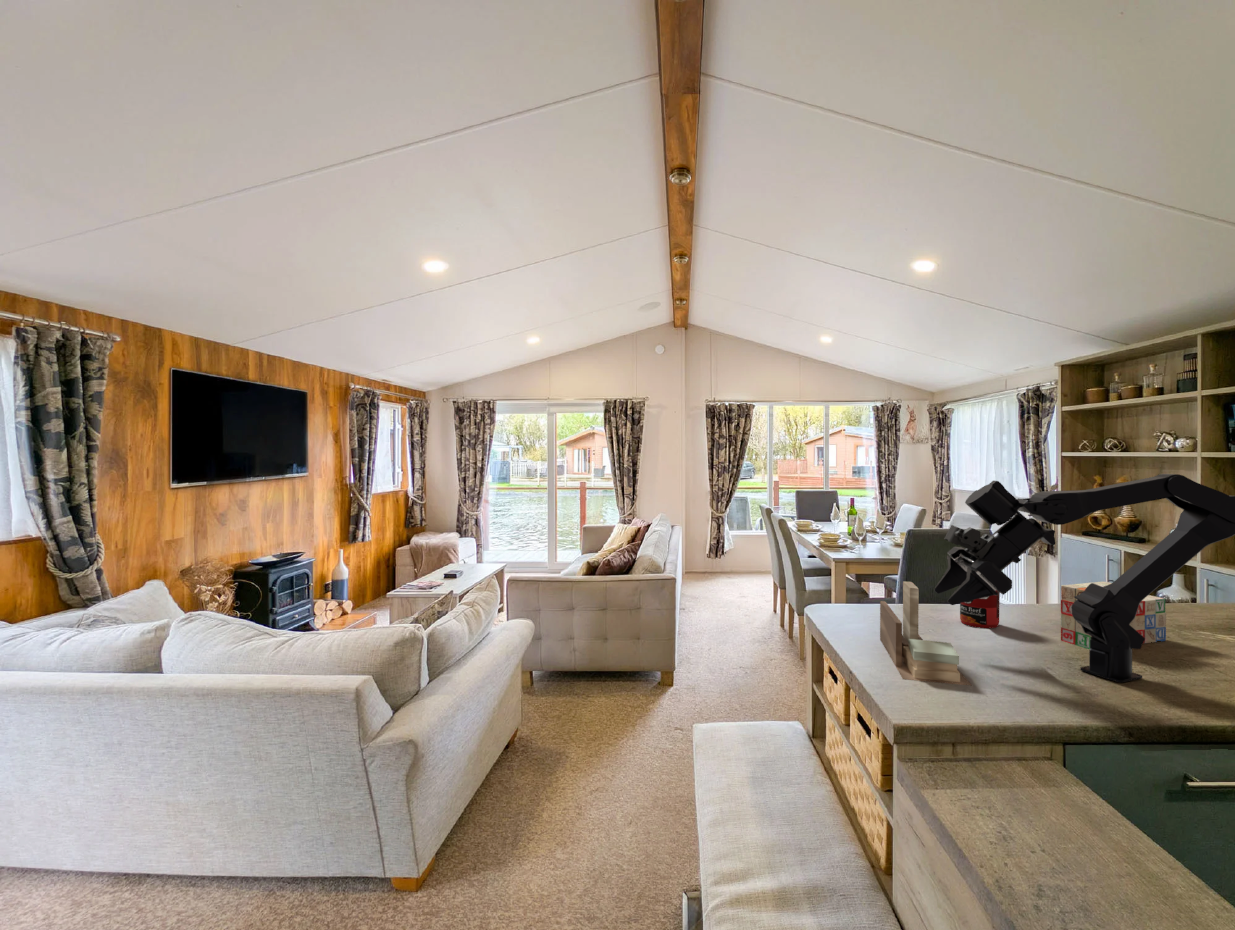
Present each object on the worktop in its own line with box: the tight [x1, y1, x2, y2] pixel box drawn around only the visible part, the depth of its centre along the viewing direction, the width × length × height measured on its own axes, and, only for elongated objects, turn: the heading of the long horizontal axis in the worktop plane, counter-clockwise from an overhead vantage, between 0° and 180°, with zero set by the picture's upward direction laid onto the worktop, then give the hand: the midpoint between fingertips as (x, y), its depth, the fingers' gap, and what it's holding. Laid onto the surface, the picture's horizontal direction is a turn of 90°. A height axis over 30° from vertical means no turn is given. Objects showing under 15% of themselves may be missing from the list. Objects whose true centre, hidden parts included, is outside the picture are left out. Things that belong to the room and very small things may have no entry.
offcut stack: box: [902, 639, 960, 682], centre depth 101 cm, size 8×8×4 cm
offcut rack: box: [879, 600, 972, 687], centre depth 107 cm, size 10×22×10 cm, turn 165°
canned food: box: [959, 590, 1001, 629], centre depth 135 cm, size 8×8×11 cm
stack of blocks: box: [1060, 581, 1167, 650], centre depth 122 cm, size 21×6×12 cm, turn 104°
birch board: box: [902, 581, 920, 643], centre depth 112 cm, size 2×6×13 cm, turn 165°
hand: (942, 597), depth 111 cm, fingers open, 9 cm apart
